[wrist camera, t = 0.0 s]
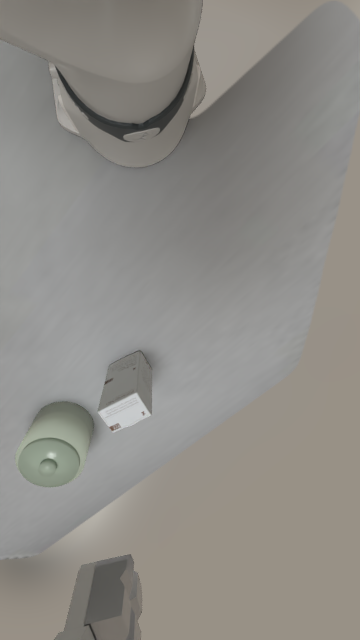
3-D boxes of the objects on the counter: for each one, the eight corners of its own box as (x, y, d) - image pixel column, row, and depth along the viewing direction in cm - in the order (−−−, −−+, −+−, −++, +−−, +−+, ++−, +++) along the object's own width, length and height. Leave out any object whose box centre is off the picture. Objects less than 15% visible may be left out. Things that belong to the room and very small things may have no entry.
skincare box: (140, 349, 49) (137, 389, 38) (153, 370, 51) (154, 415, 39) (107, 365, 49) (94, 410, 38) (121, 386, 51) (113, 435, 40)
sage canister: (25, 409, 51) (-2, 452, 42) (83, 395, 51) (68, 435, 42) (46, 454, 54) (25, 503, 45) (101, 441, 54) (91, 487, 45)
